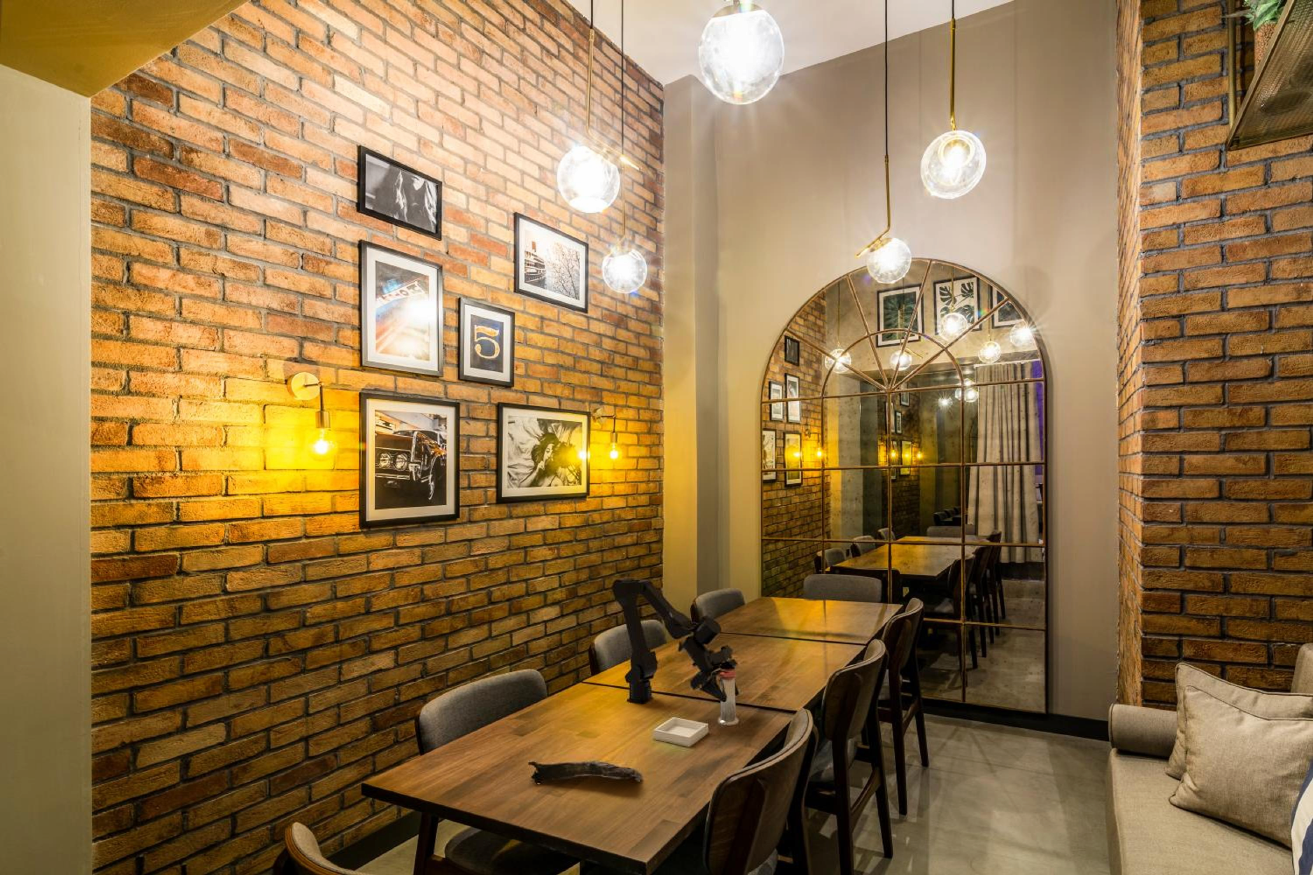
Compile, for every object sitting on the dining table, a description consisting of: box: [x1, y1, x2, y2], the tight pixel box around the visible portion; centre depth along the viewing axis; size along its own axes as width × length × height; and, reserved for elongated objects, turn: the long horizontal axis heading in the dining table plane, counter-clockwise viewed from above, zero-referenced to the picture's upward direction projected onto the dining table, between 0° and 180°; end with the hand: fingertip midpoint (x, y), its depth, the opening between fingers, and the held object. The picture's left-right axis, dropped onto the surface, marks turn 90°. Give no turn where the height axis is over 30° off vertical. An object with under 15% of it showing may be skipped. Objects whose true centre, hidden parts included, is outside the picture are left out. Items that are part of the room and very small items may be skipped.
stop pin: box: [717, 669, 740, 727], centre depth 195 cm, size 6×6×15 cm
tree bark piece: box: [527, 760, 644, 785], centre depth 158 cm, size 27×9×10 cm
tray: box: [652, 716, 709, 748], centre depth 185 cm, size 11×11×2 cm
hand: (731, 698), depth 195 cm, fingers open, 7 cm apart
